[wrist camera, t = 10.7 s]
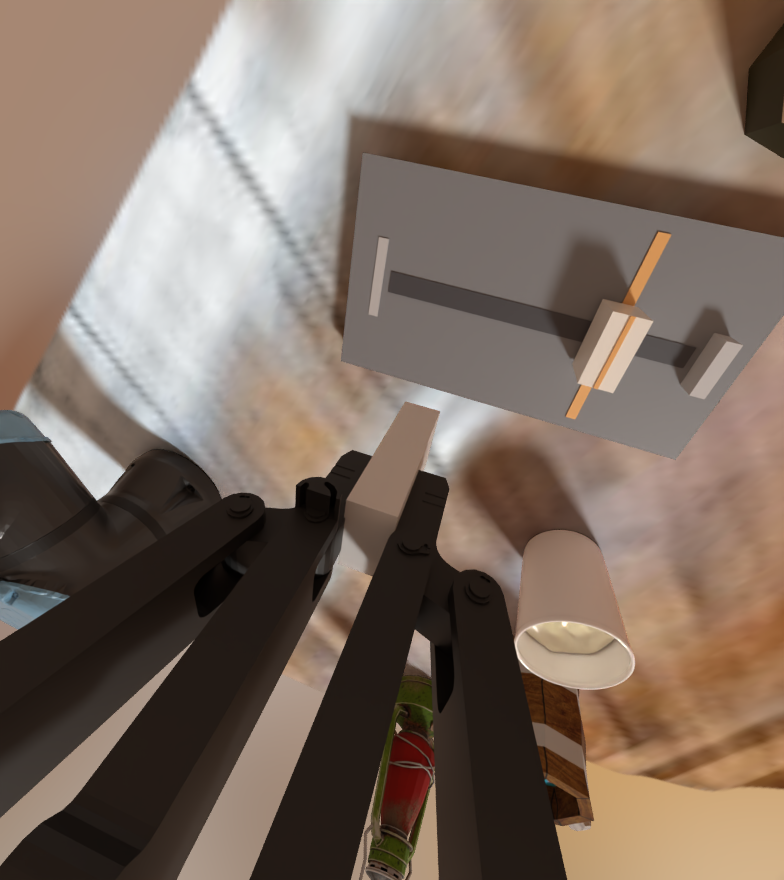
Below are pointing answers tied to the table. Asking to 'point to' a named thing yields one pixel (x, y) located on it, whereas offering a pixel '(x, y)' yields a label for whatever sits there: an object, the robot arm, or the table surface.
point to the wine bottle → (767, 97)
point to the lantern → (402, 783)
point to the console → (552, 299)
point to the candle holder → (570, 614)
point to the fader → (610, 345)
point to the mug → (560, 748)
